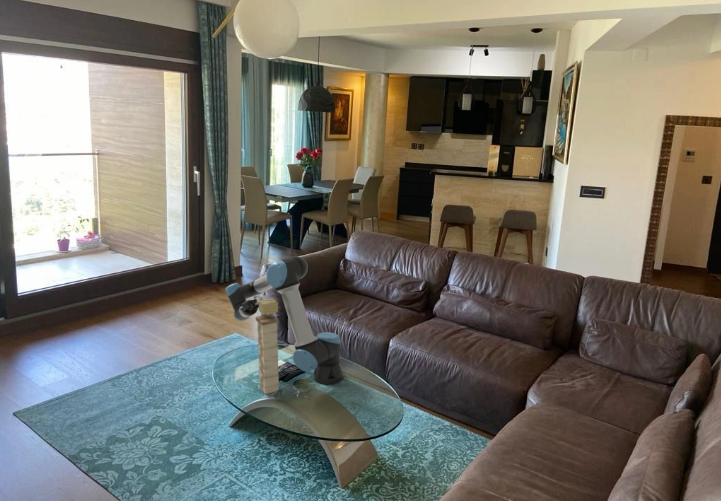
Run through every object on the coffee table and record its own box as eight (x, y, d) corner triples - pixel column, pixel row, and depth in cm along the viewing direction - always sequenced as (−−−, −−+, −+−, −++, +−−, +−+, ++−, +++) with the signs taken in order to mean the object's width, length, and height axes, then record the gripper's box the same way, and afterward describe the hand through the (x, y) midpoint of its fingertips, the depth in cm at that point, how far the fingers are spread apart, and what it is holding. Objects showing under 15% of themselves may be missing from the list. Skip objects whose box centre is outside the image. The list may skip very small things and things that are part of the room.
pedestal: (258, 387, 264) (255, 316, 255) (273, 383, 268) (271, 313, 259) (264, 394, 258) (261, 322, 249) (280, 390, 262) (278, 319, 253)
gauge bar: (249, 303, 262) (249, 293, 261) (263, 300, 266) (263, 290, 264) (263, 314, 247) (263, 304, 246) (277, 312, 251) (277, 301, 249)
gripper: (264, 313, 278) (280, 303, 259) (235, 318, 270) (248, 308, 251) (261, 299, 280) (276, 288, 260) (232, 304, 272) (245, 293, 252)
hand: (262, 298), depth 255 cm, fingers closed on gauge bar, 2 cm apart
